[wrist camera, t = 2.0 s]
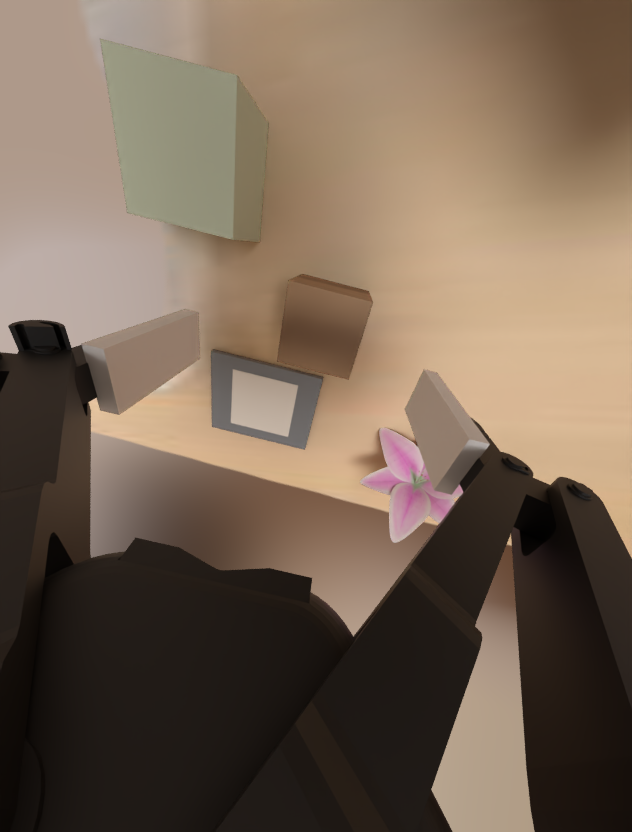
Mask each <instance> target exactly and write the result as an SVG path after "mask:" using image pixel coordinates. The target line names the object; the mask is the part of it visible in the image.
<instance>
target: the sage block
mask: <svg viewBox="0 0 632 832" xmlns="http://www.w3.org/2000/svg"><path fill="white" fill-rule="evenodd" d="M100 41H101V48H102V54H103V61H104V67H105V73H106V80H107V86H108V93H109V99H110V105H111V112H112V118H113V124H114V131H115V137H116V144H117V150H118V157H119V163H120V170H121V175H122V182H123V189H124V195H125V201H126V208H127V213H130V214H134V215H137V216H141V217H145V218H149V219H153V220H157V221H161V222H165V223H169V224H173V225H177V226H181V227H184V228H188V229H192V230H196V231H200V232H204V233H208V234H212V235H216V236H220V237H224V238H228V239H232V240H241V241H252V242H260V233H261V220H262V206H263V193H264V179H265V166H266V153H267V139H268V126H269V123H268V121H267V120H266V118H265V117H264V115H263V114H262V112H261V111H260V109H259V108H258V106H257V105H256V103H255V102H254V100H253V98H252V97H251V95H250V94H249V92H248V91H247V89H246V88H245V86H244V85H243V83H242V82H241V80H240V79H239V77H238V76H237V75H235V74H231V73H227V72H224V71H220V70H216V69H212V68H209V67H205V66H201V65H197V64H193V63H190V62H186V61H182V60H178V59H175V58H171V57H167V56H163V55H159V54H156V53H152V52H148V51H144V50H141V49H137V48H133V47H129V46H126V45H122V44H118V43H114V42H110V41H107V40H103V39H100Z"/></svg>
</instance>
